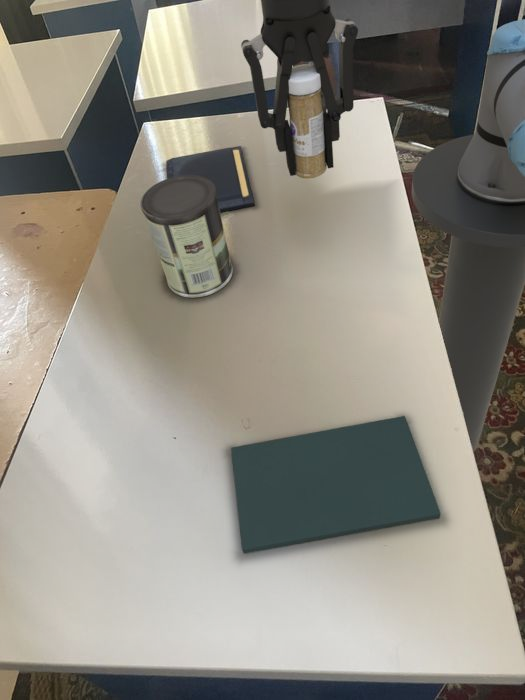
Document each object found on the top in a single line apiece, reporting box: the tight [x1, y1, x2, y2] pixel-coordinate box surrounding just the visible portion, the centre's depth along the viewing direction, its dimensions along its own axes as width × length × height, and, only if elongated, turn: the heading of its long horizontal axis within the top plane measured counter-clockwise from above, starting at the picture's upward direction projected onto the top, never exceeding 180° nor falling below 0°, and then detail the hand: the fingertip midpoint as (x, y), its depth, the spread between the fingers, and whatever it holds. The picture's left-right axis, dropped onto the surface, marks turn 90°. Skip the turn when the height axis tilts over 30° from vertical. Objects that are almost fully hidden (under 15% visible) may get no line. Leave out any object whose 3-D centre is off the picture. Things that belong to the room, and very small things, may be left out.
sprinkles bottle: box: [287, 63, 328, 180], centre depth 73 cm, size 5×5×14 cm
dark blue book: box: [165, 145, 255, 213], centre depth 102 cm, size 20×2×15 cm
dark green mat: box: [230, 415, 442, 554], centre depth 61 cm, size 20×12×1 cm, turn 98°
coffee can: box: [140, 175, 234, 299], centre depth 81 cm, size 10×10×14 cm
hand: (310, 166), depth 77 cm, fingers closed on sprinkles bottle, 4 cm apart
